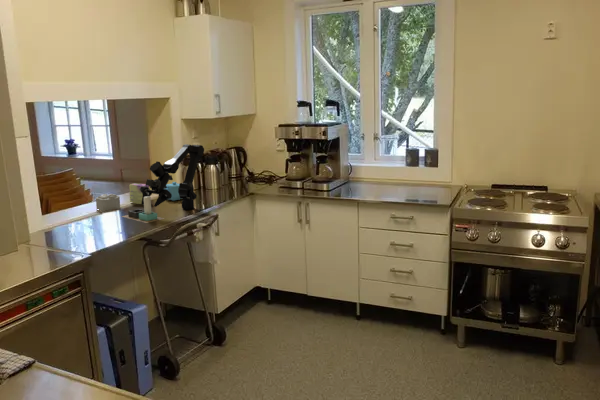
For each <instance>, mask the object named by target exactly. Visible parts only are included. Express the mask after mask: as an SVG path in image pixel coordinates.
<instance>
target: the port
mask: <svg viewBox="0 0 600 400" xmlns="http://www.w3.org/2000/svg"><path fill="white" fill-rule="evenodd" d="M157 217H158V212H154V211H151V214H149V215H145V214H144V213H139V219H141V220H145V221H149V220H154V219H157Z"/></svg>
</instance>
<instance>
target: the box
mask: <svg viewBox="0 0 600 400" xmlns="http://www.w3.org/2000/svg"><path fill="white" fill-rule="evenodd" d="M128 186H129V203H130V202H133V203H132V204H137V205H142V204H141V203H142V197H143V194H142V192H141V191H140V188H141V187H142V186H145V187H148V188H149V189H150V186H148V185H146V183H135V182H134V183H130V184H129V185H128Z"/></svg>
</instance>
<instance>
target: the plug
mask: <svg viewBox="0 0 600 400" xmlns="http://www.w3.org/2000/svg"><path fill="white" fill-rule="evenodd" d="M151 198H152V197H151V196H146V197H144V204H143V210H144V214H145V215H149V214H151V212H152V201H151V200H152V199H151Z"/></svg>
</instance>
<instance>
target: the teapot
mask: <svg viewBox="0 0 600 400" xmlns="http://www.w3.org/2000/svg"><path fill="white" fill-rule="evenodd" d="M179 184H180V183H177V181H172V183H167V185H166V186H167V188H164V189H167V190H168V191H169V192H170V193H171V194H172V197H171V198H170V199H168V200H167V201H170V200H171V201H172V202H176V201H177V200H179V201H181V200H180V199H182V198H180V196H179V193H178V188H179Z"/></svg>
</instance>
